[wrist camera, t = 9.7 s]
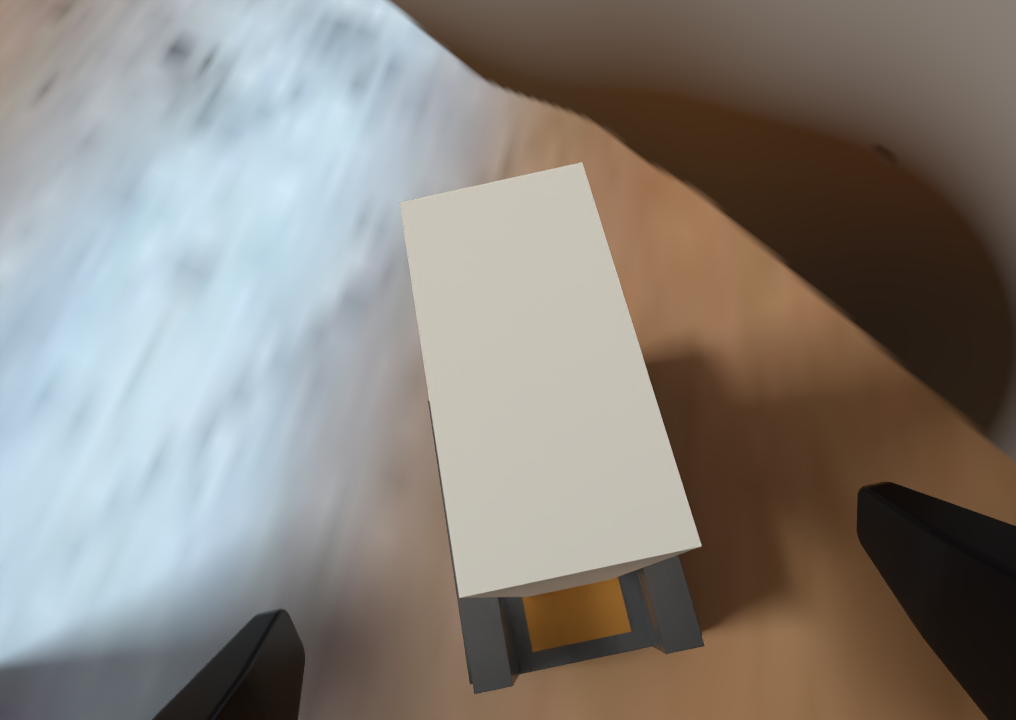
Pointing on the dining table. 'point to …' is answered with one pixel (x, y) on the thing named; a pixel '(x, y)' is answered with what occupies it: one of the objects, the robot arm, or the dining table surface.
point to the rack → (575, 622)
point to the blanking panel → (538, 391)
